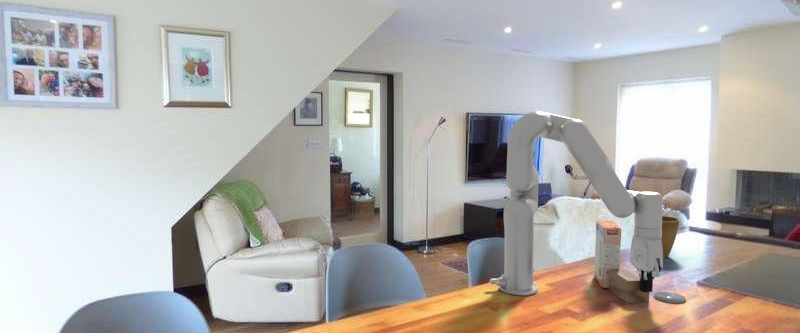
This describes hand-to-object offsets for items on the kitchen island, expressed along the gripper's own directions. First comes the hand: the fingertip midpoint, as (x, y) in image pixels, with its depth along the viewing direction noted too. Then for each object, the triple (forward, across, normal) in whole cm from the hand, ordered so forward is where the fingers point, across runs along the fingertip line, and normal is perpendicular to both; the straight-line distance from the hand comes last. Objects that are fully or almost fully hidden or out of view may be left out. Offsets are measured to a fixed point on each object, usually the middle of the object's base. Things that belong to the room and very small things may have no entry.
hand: (646, 291), depth 156 cm
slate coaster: (+4, -4, +11) cm, 12 cm away
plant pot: (+4, -51, +40) cm, 65 cm away
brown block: (+4, -8, 0) cm, 9 cm away
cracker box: (+4, -22, 0) cm, 22 cm away
